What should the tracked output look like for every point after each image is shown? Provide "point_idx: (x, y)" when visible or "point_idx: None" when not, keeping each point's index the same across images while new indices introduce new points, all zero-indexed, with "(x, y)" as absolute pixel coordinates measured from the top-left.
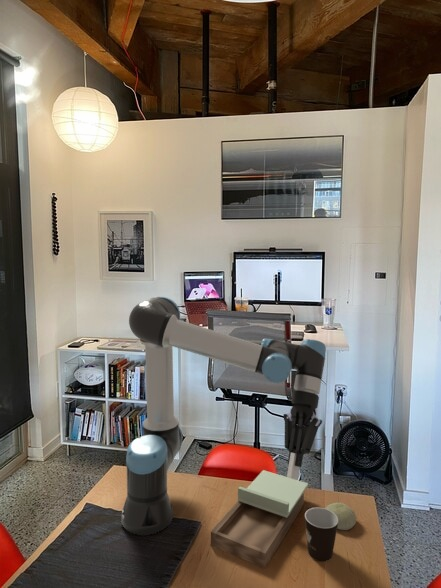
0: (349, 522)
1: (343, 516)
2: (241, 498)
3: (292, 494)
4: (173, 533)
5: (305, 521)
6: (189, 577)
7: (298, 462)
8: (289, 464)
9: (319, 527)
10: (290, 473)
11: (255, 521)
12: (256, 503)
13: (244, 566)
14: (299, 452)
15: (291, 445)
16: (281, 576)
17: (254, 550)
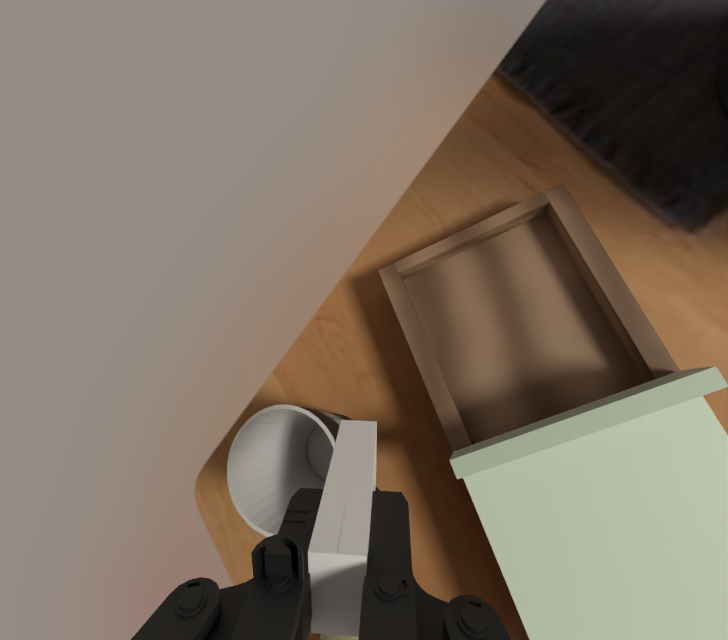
0: (321, 634)
1: (334, 638)
2: (668, 376)
3: (553, 605)
4: (683, 130)
5: (324, 419)
6: (480, 112)
7: (287, 512)
8: (367, 473)
9: (255, 413)
10: (346, 435)
11: (541, 371)
12: (589, 404)
13: (425, 244)
14: (258, 582)
15: (377, 638)
16: (345, 300)
17: (409, 256)
